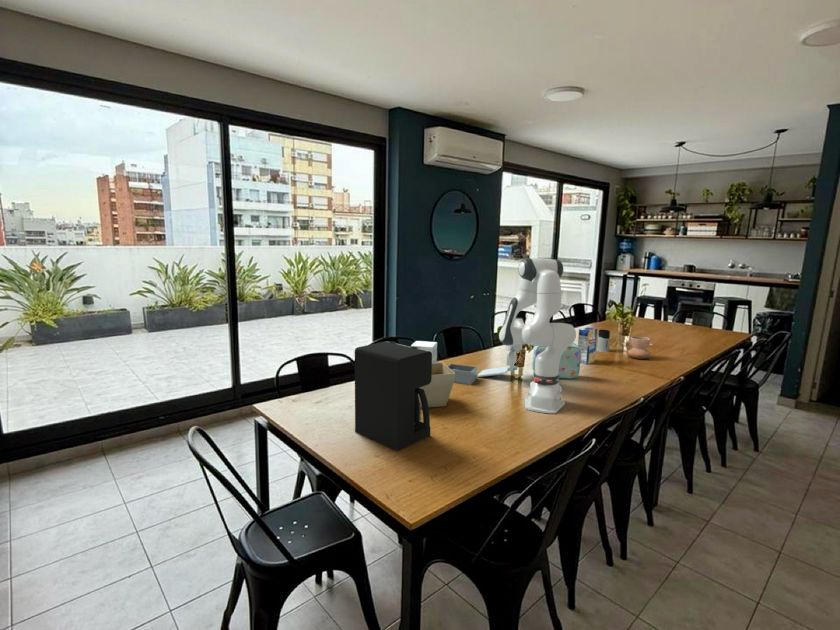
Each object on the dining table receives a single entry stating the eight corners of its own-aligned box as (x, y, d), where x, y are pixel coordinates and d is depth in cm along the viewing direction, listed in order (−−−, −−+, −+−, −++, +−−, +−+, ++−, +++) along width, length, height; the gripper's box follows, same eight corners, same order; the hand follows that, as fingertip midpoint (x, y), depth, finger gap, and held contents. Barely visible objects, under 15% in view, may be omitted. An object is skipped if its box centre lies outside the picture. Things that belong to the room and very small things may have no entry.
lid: (515, 373, 243) (514, 369, 243) (477, 378, 252) (476, 374, 252) (519, 367, 255) (518, 363, 255) (483, 372, 264) (482, 368, 264)
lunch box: (577, 375, 261) (579, 339, 257) (581, 380, 250) (584, 343, 247) (531, 373, 263) (533, 337, 260) (533, 378, 253) (535, 341, 249)
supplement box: (409, 374, 256) (410, 345, 253) (415, 368, 268) (415, 340, 265) (432, 376, 253) (432, 346, 250) (436, 370, 265) (437, 342, 262)
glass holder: (600, 348, 328) (601, 328, 326) (618, 352, 317) (620, 332, 315) (593, 350, 323) (595, 330, 320) (612, 354, 312) (614, 333, 309)
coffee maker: (439, 438, 173) (441, 351, 167) (405, 455, 158) (406, 361, 153) (389, 418, 191) (389, 339, 186) (354, 432, 177) (353, 347, 171)
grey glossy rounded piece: (457, 377, 249) (457, 370, 248) (450, 376, 250) (451, 369, 249) (459, 375, 252) (459, 368, 251) (453, 374, 253) (453, 368, 253)
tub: (470, 384, 239) (471, 372, 238) (443, 380, 245) (443, 368, 244) (477, 378, 250) (477, 366, 249) (450, 375, 256) (450, 363, 255)
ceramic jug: (656, 358, 301) (657, 338, 299) (645, 361, 292) (647, 340, 290) (630, 354, 315) (631, 334, 313) (619, 356, 307) (621, 336, 305)
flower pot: (415, 412, 199) (415, 376, 197) (405, 397, 218) (405, 364, 215) (454, 408, 205) (455, 373, 202) (441, 394, 223) (442, 362, 220)
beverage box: (576, 362, 289) (578, 329, 286) (585, 359, 296) (587, 327, 293) (586, 364, 284) (588, 330, 281) (594, 361, 291) (597, 328, 288)
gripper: (515, 350, 237) (514, 375, 239) (523, 342, 256) (521, 366, 258) (504, 349, 240) (502, 373, 242) (512, 341, 258) (510, 364, 260)
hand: (512, 369), depth 250 cm, fingers closed on lid, 3 cm apart
